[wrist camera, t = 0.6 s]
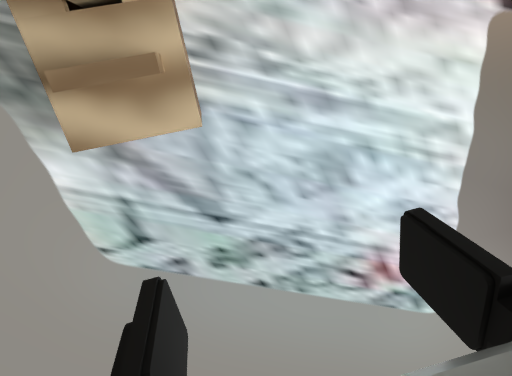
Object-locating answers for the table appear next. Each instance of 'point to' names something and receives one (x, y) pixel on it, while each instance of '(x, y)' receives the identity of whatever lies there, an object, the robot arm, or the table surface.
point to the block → (94, 3)
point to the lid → (110, 69)
